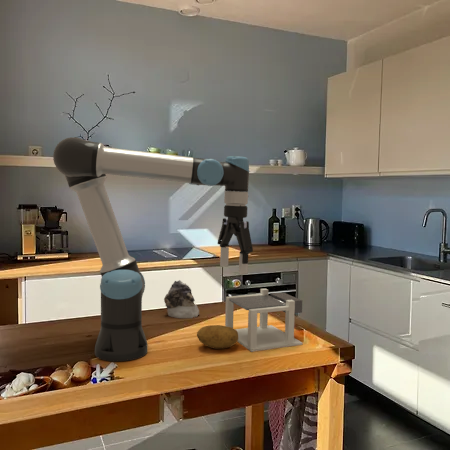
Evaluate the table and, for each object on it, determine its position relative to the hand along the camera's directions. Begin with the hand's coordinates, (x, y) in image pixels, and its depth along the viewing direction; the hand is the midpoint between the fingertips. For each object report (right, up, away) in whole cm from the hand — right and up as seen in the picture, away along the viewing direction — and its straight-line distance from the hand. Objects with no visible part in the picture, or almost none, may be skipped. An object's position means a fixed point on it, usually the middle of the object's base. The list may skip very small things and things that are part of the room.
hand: (233, 270), depth 155 cm
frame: (+9, -22, 0) cm, 24 cm away
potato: (-5, -23, -10) cm, 25 cm away
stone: (-19, -20, +25) cm, 37 cm away
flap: (+11, -13, -1) cm, 17 cm away
